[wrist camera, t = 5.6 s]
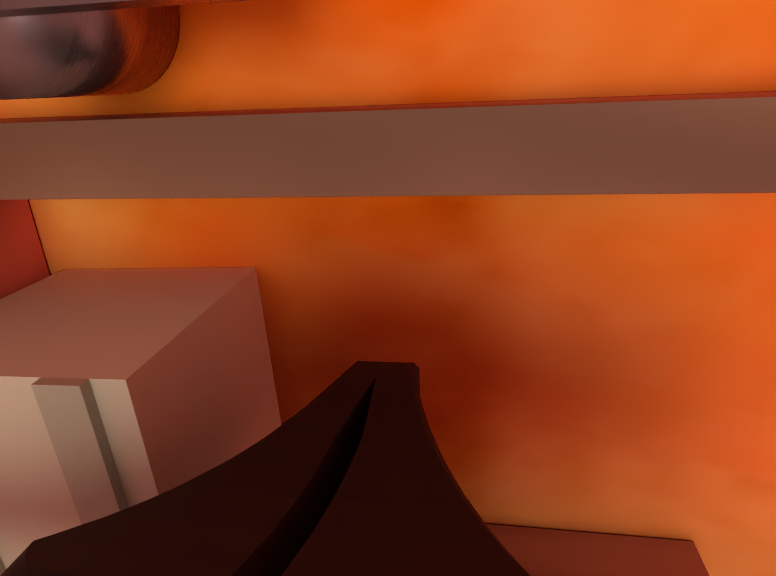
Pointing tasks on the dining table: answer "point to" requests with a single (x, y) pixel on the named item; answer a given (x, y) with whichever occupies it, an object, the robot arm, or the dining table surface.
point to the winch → (85, 46)
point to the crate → (124, 390)
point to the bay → (405, 194)
